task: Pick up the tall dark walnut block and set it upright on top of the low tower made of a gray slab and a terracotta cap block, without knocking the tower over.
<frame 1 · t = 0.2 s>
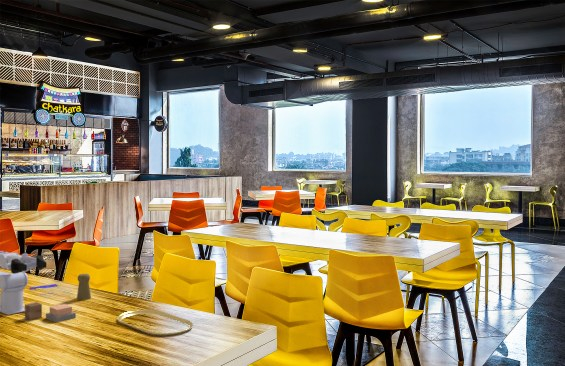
hand: (35, 266, 206), 21 cm above the table, tool horizontal, fingers open, 7 cm apart
terracotta cap: (60, 313, 210), point 2 cm above the table, touching gray slab
booklet: (51, 292, 254), on the table
walnut block: (33, 318, 210), on the table
gray slab: (60, 319, 211), on the table, touching terracotta cap
taupe pawn: (83, 298, 241), on the table
serving platter: (154, 325, 204), on the table
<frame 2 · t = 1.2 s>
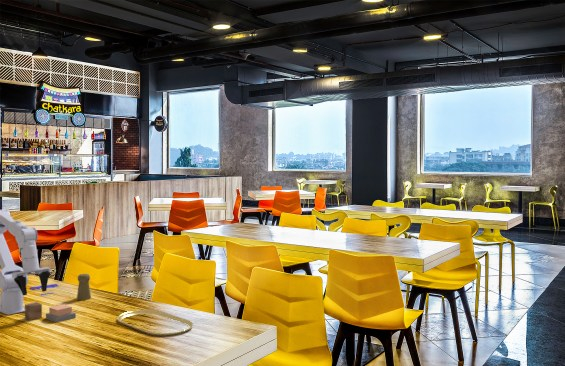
hand: (34, 293, 209), 10 cm above the table, tool pointing down, fingers open, 7 cm apart
nothing on the table moved.
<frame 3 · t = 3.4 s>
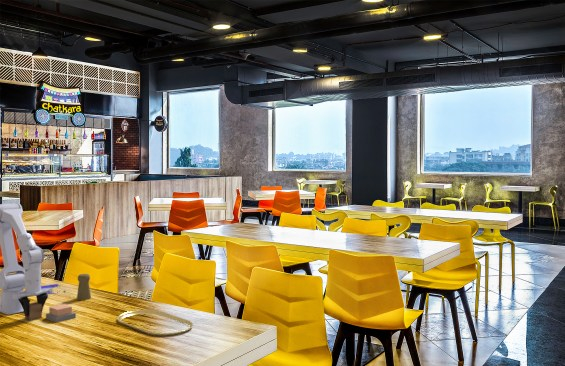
hand: (33, 314, 210), 1 cm above the table, tool pointing down, fingers closed on walnut block, 4 cm apart
terracotta cap: (60, 313, 210), point 2 cm above the table
walnut block: (33, 318, 210), on the table, touching gripper
gray slab: (60, 319, 211), on the table
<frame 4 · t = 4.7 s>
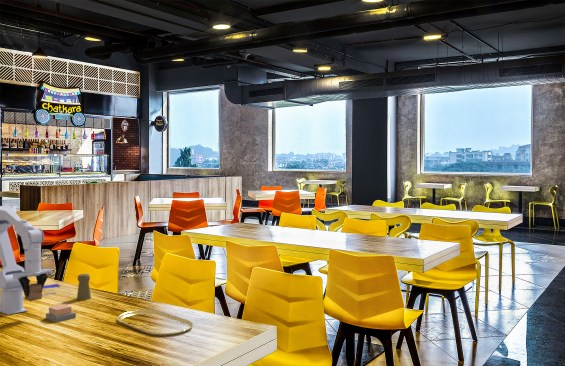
hand: (33, 294, 210), 9 cm above the table, tool pointing down, fingers closed on walnut block, 4 cm apart
terracotta cap: (60, 313, 210), point 2 cm above the table, touching gray slab
walnut block: (33, 298, 210), point 8 cm above the table, touching gripper
gray slab: (60, 319, 211), on the table, touching terracotta cap
everything else where it was.
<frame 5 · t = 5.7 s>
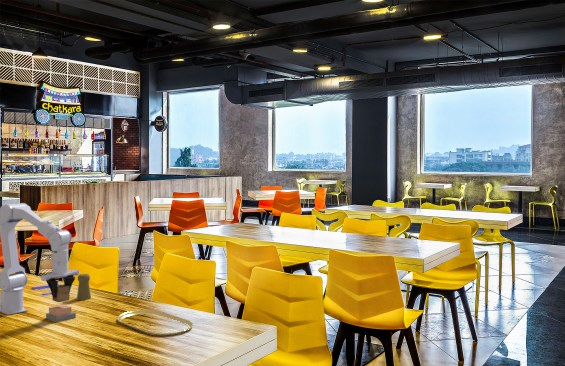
hand: (60, 296, 210), 9 cm above the table, tool pointing down, fingers closed on walnut block, 4 cm apart
walnut block: (60, 300, 210), point 7 cm above the table, touching gripper
everything else where it was.
when the fingers open (7 cm above the table, at t = 6.8 s): walnut block drops 1 cm, resting on terracotta cap.
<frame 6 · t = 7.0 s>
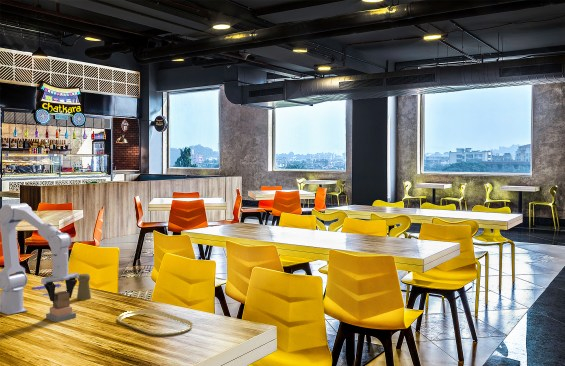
hand: (60, 299, 210), 7 cm above the table, tool pointing down, fingers open, 6 cm apart
terracotta cap: (60, 313, 210), point 2 cm above the table, touching gray slab, walnut block
walnut block: (61, 306, 211), point 4 cm above the table, touching terracotta cap
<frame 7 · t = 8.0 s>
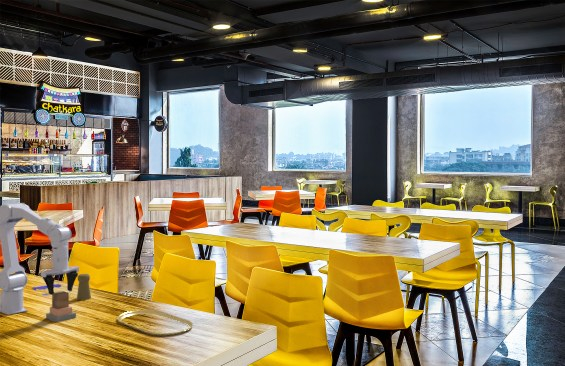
hand: (60, 292, 210), 10 cm above the table, tool pointing down, fingers open, 7 cm apart
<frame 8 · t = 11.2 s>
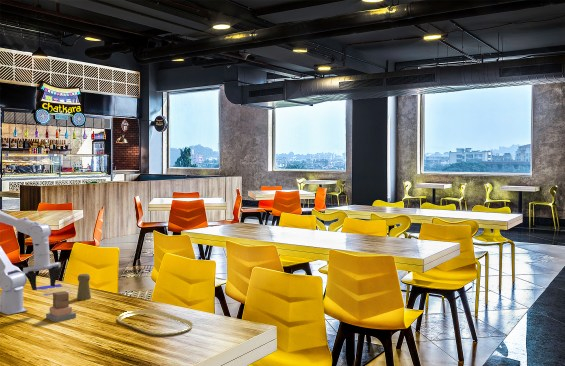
hand: (43, 287, 216), 10 cm above the table, tool pointing down, fingers open, 7 cm apart
terracotta cap: (60, 313, 210), point 2 cm above the table, touching gray slab
walnut block: (60, 306, 210), point 4 cm above the table
at the end: walnut block 0.2 cm off-centre on the terracotta cap, point 2.5 cm above the terracotta cap's base; terracotta cap tilted 0°; the gripper is holding nothing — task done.
